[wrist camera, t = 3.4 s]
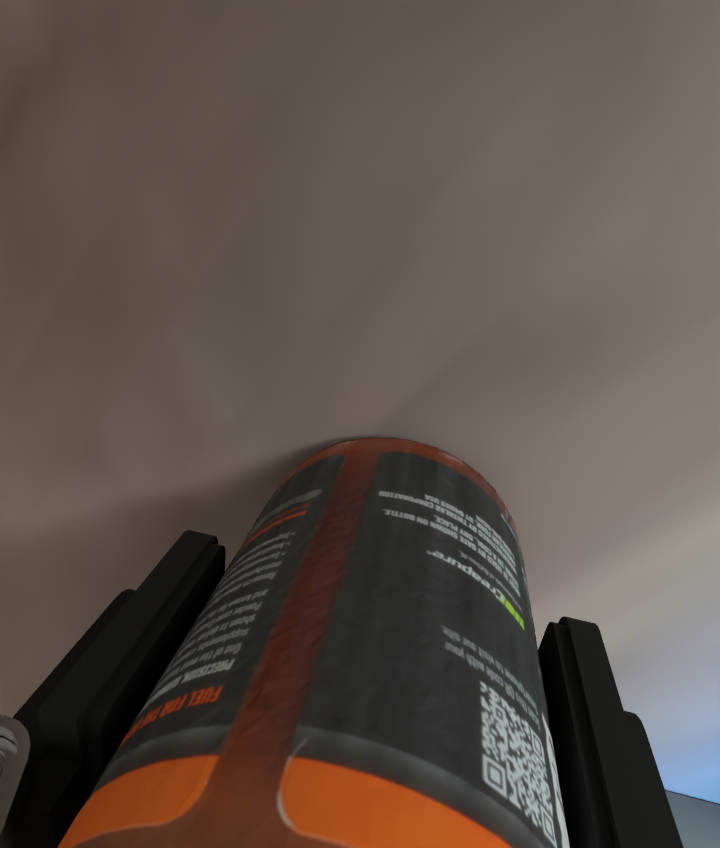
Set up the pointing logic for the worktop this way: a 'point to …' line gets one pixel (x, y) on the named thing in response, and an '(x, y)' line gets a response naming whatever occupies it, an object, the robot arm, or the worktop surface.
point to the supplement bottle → (350, 678)
